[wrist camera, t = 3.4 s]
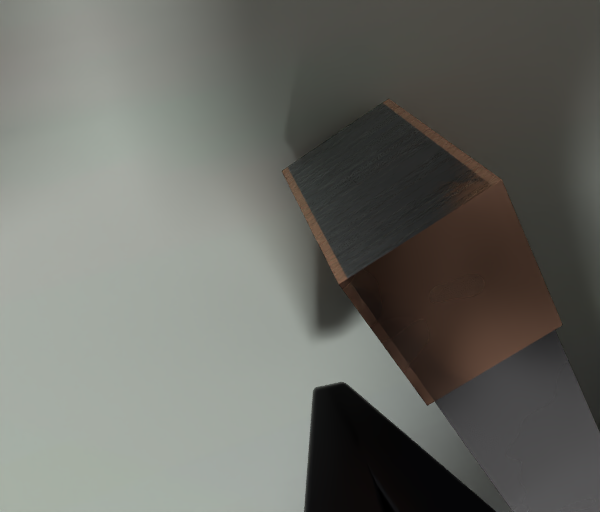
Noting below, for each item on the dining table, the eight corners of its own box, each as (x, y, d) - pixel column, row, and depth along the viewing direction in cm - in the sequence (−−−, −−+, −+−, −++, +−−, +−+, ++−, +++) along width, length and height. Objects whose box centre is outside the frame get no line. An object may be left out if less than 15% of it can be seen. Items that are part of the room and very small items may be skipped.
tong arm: (592, 496, 14) (685, 618, 12) (531, 530, 14) (610, 656, 12) (388, 98, 8) (501, 179, 5) (281, 170, 8) (338, 283, 5)
